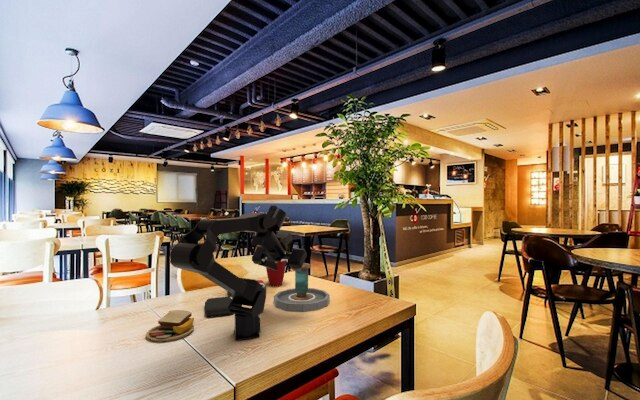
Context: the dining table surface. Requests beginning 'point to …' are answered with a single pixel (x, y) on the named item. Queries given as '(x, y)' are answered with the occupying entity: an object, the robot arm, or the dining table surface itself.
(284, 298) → the round tray
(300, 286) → the bead spool
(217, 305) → the carrying case or bag
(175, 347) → the dining table surface
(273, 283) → the plastic cup
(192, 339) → the dining table surface
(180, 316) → the toy sandwich meal
